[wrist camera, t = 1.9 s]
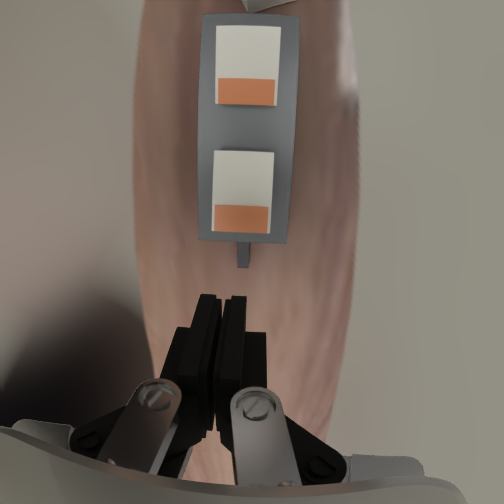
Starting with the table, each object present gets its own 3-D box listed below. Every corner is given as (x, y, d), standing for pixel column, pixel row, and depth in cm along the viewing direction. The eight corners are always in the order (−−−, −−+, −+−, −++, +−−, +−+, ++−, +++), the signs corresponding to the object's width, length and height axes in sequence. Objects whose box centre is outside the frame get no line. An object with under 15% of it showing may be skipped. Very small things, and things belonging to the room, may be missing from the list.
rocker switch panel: (211, 28, 20) (200, 11, 16) (294, 30, 20) (301, 13, 16) (207, 261, 30) (199, 287, 25) (279, 264, 30) (282, 291, 25)
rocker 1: (219, 27, 16) (216, 25, 15) (279, 28, 16) (281, 26, 15) (218, 100, 19) (215, 104, 18) (275, 102, 19) (276, 106, 18)
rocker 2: (216, 152, 21) (213, 150, 19) (273, 154, 21) (274, 152, 19) (214, 227, 22) (211, 230, 21) (269, 230, 22) (270, 233, 21)
